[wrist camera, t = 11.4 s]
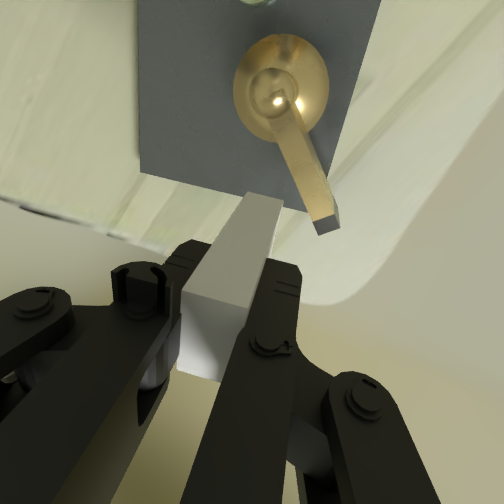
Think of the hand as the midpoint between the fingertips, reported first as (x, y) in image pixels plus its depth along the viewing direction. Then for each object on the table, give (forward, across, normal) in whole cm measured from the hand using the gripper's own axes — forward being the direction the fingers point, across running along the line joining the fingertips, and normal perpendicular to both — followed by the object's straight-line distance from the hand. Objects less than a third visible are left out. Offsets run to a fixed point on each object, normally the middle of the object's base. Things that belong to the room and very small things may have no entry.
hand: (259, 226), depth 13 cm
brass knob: (+12, 0, +2) cm, 12 cm away
